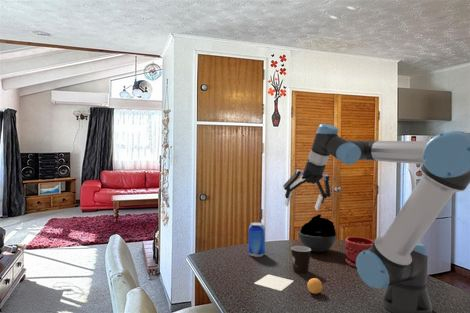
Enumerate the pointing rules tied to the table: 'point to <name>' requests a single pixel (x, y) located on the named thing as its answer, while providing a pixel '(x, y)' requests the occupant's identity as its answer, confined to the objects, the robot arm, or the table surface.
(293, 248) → the coffee mug
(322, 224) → the bowl of black rocks
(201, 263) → the table surface
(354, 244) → the plant pot
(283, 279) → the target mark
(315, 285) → the ball
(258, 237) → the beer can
